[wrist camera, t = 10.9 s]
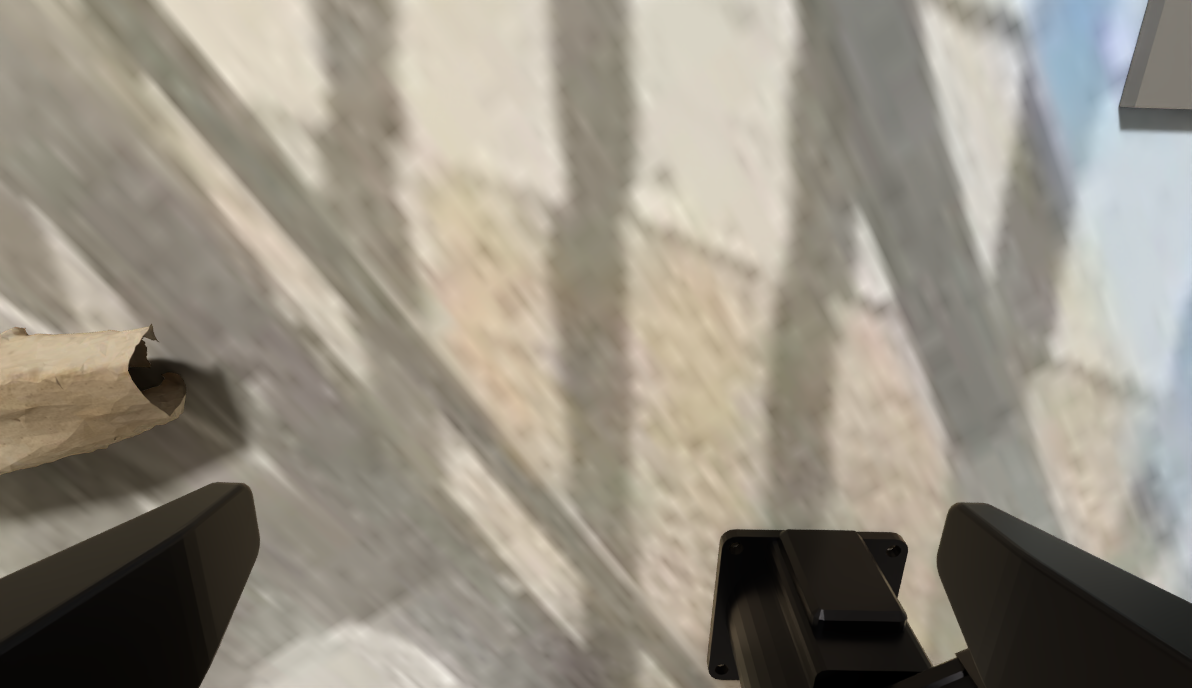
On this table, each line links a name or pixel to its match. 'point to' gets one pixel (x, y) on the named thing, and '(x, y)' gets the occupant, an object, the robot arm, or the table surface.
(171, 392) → the bone fragment
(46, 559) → the robot arm
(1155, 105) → the mat
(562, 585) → the table surface
